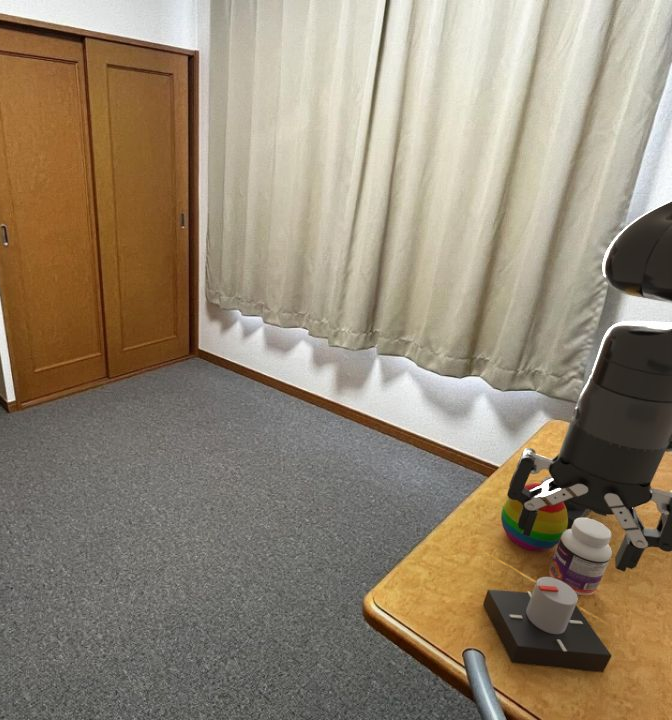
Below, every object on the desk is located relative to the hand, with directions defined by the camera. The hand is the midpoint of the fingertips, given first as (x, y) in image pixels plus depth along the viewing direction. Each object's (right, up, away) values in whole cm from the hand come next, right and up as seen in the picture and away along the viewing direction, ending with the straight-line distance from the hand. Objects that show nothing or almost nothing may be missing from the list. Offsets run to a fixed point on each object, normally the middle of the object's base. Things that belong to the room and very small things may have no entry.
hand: (570, 547), depth 54 cm
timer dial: (0, -11, +4) cm, 11 cm away
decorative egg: (+9, -7, +21) cm, 24 cm away
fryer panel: (0, -13, +5) cm, 14 cm away
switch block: (+19, -4, +27) cm, 33 cm away
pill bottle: (+10, -10, +13) cm, 19 cm away
